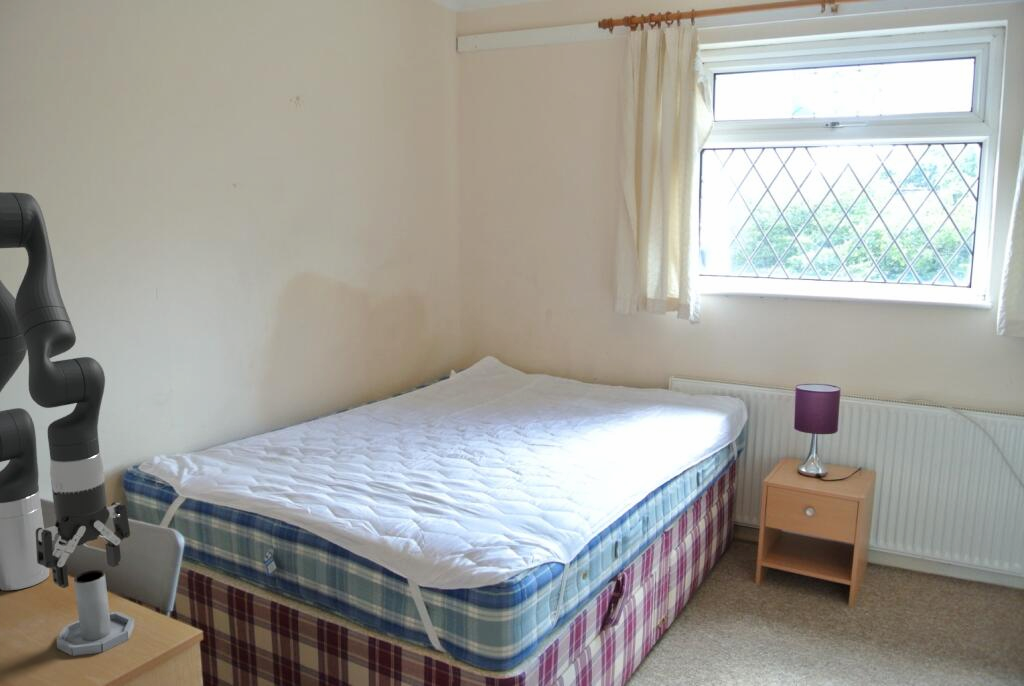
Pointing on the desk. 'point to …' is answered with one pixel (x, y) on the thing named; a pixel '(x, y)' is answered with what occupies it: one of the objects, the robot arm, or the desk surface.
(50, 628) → the desk surface
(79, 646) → the saucer
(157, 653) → the desk surface
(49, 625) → the desk surface
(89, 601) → the planter
